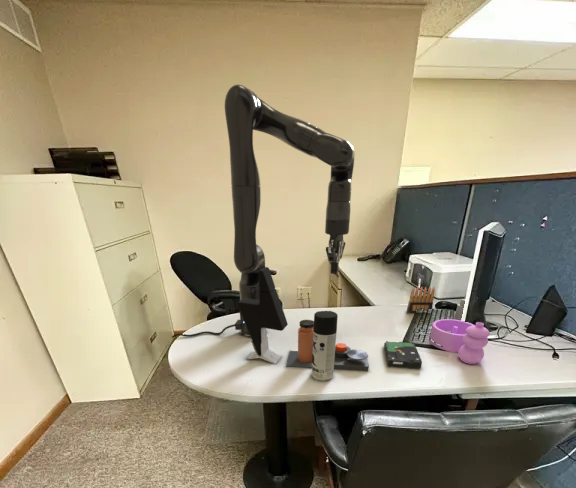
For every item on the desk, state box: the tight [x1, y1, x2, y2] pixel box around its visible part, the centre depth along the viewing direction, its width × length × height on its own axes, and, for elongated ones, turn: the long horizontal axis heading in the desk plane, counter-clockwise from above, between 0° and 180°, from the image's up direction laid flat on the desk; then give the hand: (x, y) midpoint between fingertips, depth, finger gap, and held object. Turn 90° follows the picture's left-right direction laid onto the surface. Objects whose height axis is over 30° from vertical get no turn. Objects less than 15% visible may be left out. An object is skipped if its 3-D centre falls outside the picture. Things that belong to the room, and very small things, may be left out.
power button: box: [336, 342, 348, 352], centre depth 108 cm, size 4×4×2 cm
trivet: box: [286, 350, 312, 369], centre depth 109 cm, size 11×11×1 cm
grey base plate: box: [334, 345, 370, 372], centre depth 107 cm, size 14×11×4 cm
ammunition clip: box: [406, 286, 436, 314], centre depth 145 cm, size 11×2×12 cm, turn 89°
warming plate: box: [346, 349, 369, 360], centre depth 105 cm, size 7×7×1 cm
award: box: [236, 266, 288, 365], centre depth 103 cm, size 15×5×30 cm, turn 71°
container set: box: [428, 318, 490, 365], centre depth 113 cm, size 25×15×13 cm, turn 179°
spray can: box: [311, 310, 338, 382], centre depth 96 cm, size 7×7×20 cm
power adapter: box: [453, 293, 467, 321], centre depth 135 cm, size 3×5×12 cm, turn 81°
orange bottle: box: [297, 319, 314, 363], centre depth 106 cm, size 6×6×13 cm
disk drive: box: [383, 340, 423, 369], centre depth 110 cm, size 10×3×15 cm
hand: (334, 273), depth 111 cm, fingers closed
